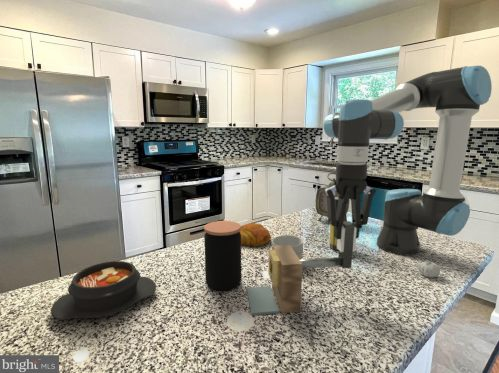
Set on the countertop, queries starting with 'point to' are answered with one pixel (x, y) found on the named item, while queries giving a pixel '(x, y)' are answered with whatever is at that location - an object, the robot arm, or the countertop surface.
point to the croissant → (254, 235)
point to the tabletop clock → (325, 199)
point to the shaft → (344, 257)
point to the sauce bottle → (332, 229)
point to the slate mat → (262, 300)
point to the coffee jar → (222, 255)
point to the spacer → (274, 268)
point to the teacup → (290, 243)
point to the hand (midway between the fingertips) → (345, 249)
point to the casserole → (103, 291)
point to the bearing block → (288, 280)
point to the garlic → (429, 269)
